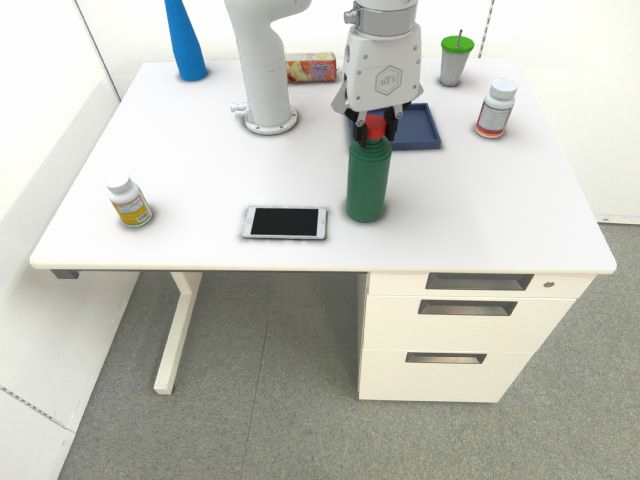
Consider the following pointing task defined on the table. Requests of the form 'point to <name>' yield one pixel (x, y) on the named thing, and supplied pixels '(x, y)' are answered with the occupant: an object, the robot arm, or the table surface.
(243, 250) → the table surface
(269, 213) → the smartphone
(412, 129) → the tray
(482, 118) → the pill bottle
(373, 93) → the robot arm
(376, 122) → the cap
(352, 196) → the water bottle
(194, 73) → the bottle
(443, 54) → the cup
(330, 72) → the juice carton
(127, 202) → the supplement bottle
